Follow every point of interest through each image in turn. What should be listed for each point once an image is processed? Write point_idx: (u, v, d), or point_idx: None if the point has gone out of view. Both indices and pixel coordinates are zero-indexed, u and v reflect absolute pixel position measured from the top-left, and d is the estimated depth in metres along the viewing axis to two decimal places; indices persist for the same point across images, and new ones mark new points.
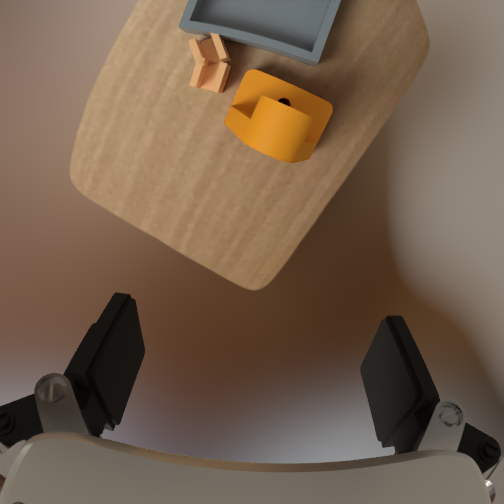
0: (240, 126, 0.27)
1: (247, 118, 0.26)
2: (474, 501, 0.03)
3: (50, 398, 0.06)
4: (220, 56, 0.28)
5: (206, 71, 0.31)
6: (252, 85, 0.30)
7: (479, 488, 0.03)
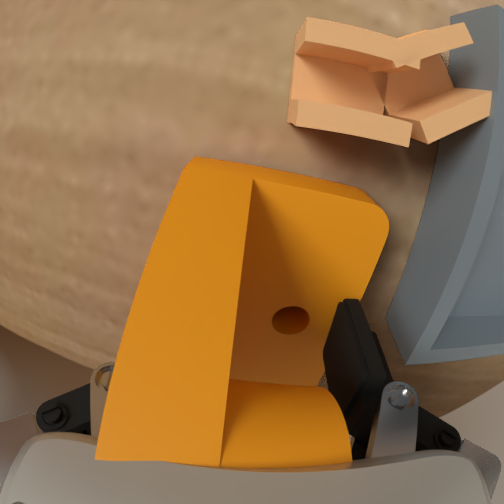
0: (165, 356, 0.05)
1: (217, 415, 0.05)
2: (474, 501, 0.03)
3: (106, 386, 0.07)
4: (429, 122, 0.08)
5: (353, 67, 0.09)
6: (337, 233, 0.10)
7: (479, 488, 0.03)
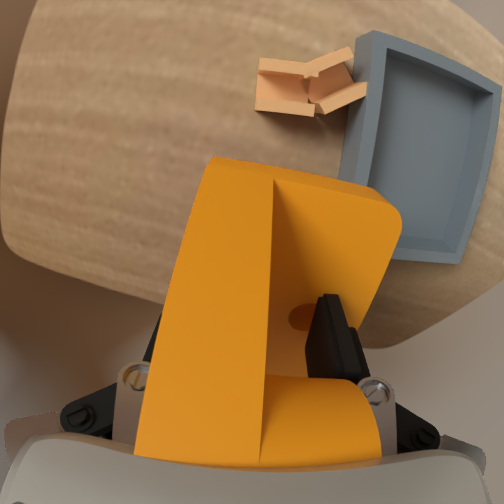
0: (202, 353, 0.06)
1: (255, 408, 0.05)
2: (474, 501, 0.03)
3: (134, 385, 0.07)
4: (325, 103, 0.17)
5: (289, 78, 0.18)
6: (353, 231, 0.10)
7: (479, 488, 0.03)
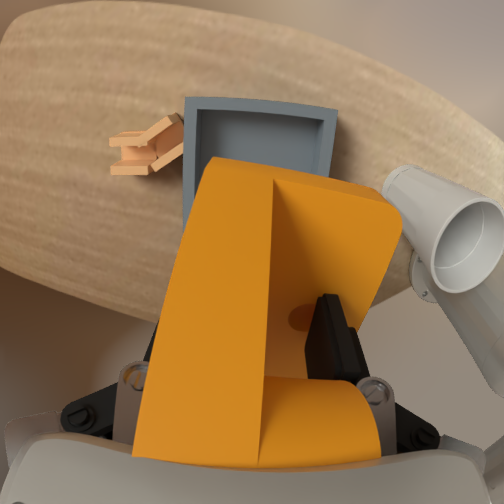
0: (200, 354, 0.06)
1: (254, 410, 0.05)
2: (474, 501, 0.03)
3: (134, 385, 0.07)
4: (154, 164, 0.24)
5: None
6: (353, 231, 0.10)
7: (479, 488, 0.03)
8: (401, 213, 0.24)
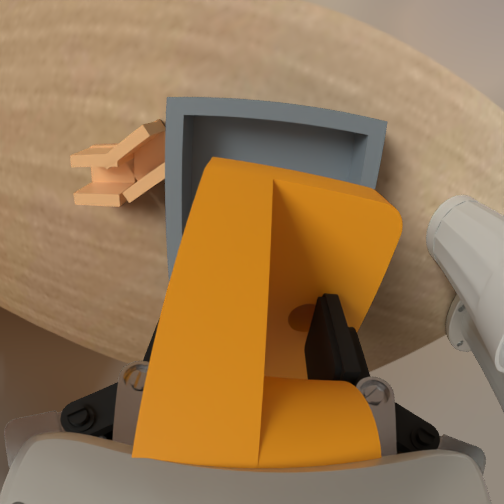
0: (200, 355, 0.05)
1: (254, 410, 0.05)
2: (474, 501, 0.03)
3: (134, 385, 0.07)
4: (127, 192, 0.17)
5: None
6: (353, 232, 0.10)
7: (479, 488, 0.03)
8: (457, 266, 0.16)
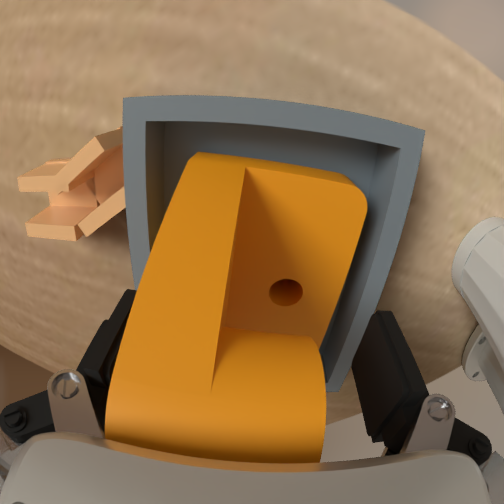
0: (172, 298, 0.07)
1: (211, 341, 0.07)
2: (474, 501, 0.03)
3: (63, 394, 0.06)
4: (83, 223, 0.13)
5: None
6: (320, 211, 0.12)
7: (479, 488, 0.03)
8: (492, 310, 0.12)
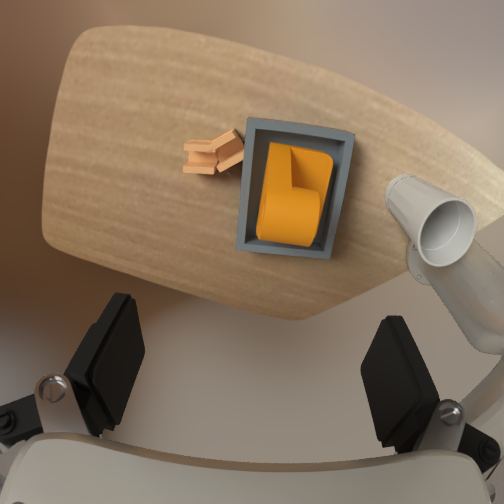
0: (278, 175, 0.28)
1: (290, 183, 0.27)
2: (474, 501, 0.03)
3: (50, 398, 0.06)
4: (219, 166, 0.33)
5: None
6: (316, 163, 0.32)
7: (479, 488, 0.03)
8: (398, 209, 0.33)
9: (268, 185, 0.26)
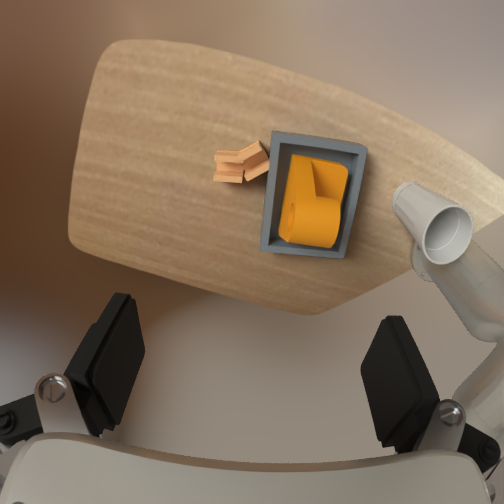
0: (303, 186, 0.32)
1: (314, 193, 0.31)
2: (474, 501, 0.03)
3: (50, 398, 0.06)
4: (247, 176, 0.37)
5: None
6: (333, 173, 0.36)
7: (479, 488, 0.03)
8: (405, 214, 0.36)
9: (296, 195, 0.30)
